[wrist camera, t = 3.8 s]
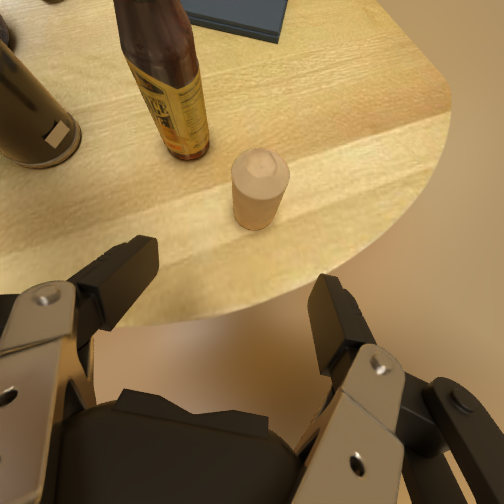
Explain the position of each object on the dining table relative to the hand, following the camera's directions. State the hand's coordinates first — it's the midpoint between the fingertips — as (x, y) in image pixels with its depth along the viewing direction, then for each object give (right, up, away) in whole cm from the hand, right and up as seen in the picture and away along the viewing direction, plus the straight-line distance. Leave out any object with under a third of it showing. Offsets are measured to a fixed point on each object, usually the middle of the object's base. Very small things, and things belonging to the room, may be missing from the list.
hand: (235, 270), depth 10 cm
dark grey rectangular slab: (-3, +45, +26) cm, 52 cm away
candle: (+1, +6, +17) cm, 19 cm away
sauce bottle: (-8, +16, +19) cm, 26 cm away
